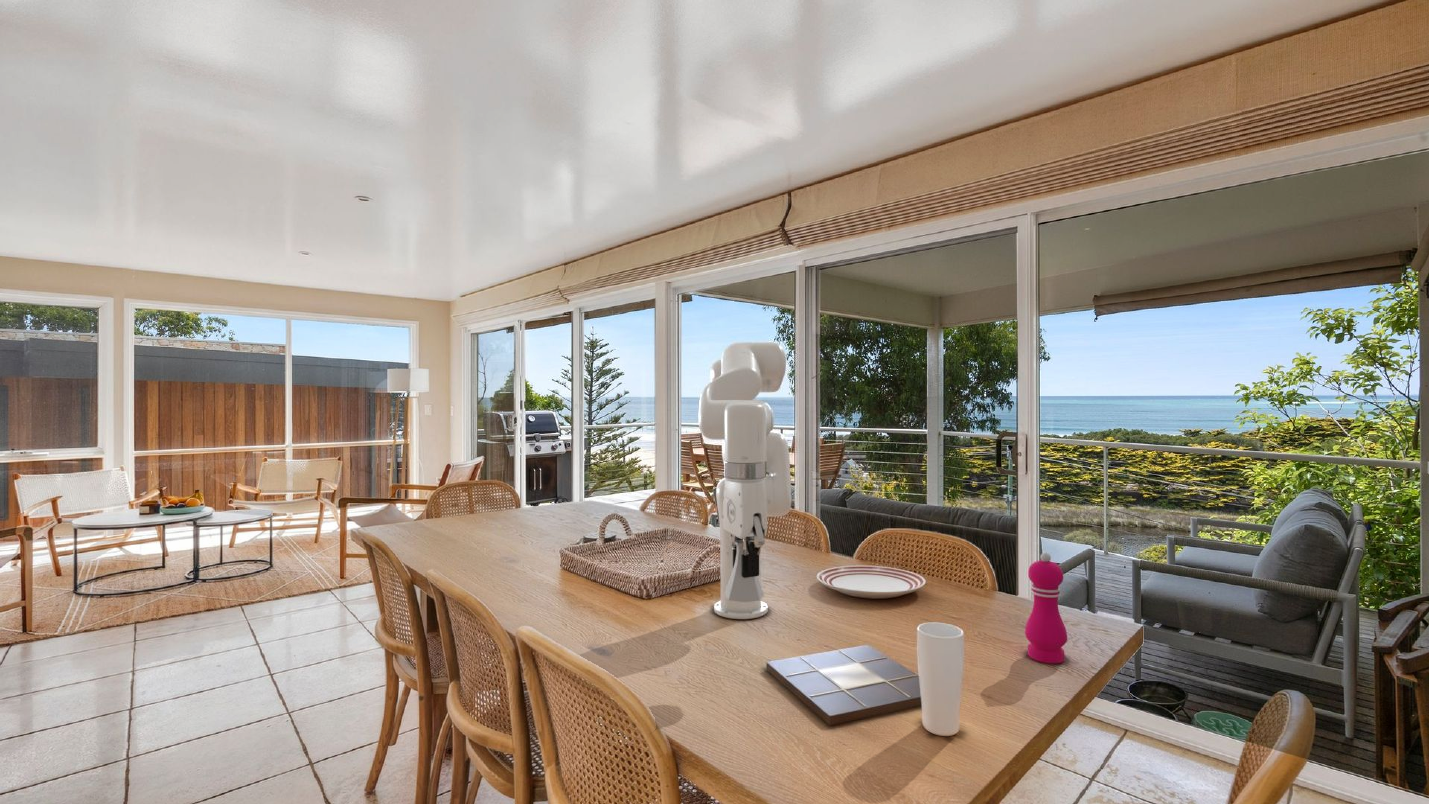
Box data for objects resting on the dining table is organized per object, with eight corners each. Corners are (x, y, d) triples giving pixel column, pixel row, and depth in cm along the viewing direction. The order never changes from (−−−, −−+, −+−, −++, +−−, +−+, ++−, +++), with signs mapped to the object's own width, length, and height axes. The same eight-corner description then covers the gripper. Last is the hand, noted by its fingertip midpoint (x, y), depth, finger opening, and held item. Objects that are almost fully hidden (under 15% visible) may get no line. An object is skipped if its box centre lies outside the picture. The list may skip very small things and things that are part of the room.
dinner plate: (805, 576, 182) (805, 564, 182) (900, 573, 185) (900, 561, 185) (834, 608, 155) (834, 594, 155) (944, 603, 158) (944, 589, 158)
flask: (765, 603, 114) (765, 546, 113) (723, 603, 114) (723, 546, 114) (763, 590, 121) (763, 537, 121) (724, 590, 121) (724, 536, 121)
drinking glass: (910, 718, 102) (909, 622, 101) (952, 716, 102) (951, 620, 102) (928, 741, 95) (927, 638, 95) (973, 739, 95) (972, 636, 95)
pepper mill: (1050, 667, 120) (1050, 559, 120) (1016, 654, 127) (1016, 551, 126) (1075, 660, 124) (1075, 554, 123) (1041, 647, 130) (1040, 547, 130)
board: (766, 670, 120) (766, 661, 120) (867, 652, 128) (867, 644, 128) (829, 726, 100) (829, 715, 100) (945, 700, 108) (945, 690, 108)
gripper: (709, 467, 123) (710, 564, 124) (744, 478, 108) (745, 589, 108) (745, 465, 126) (746, 560, 126) (785, 476, 111) (785, 584, 111)
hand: (745, 572), depth 117 cm, fingers closed on flask, 3 cm apart
